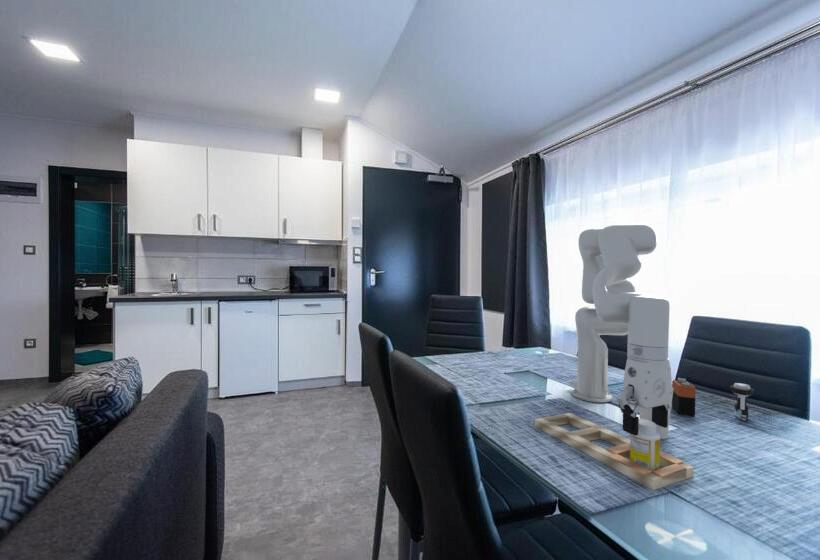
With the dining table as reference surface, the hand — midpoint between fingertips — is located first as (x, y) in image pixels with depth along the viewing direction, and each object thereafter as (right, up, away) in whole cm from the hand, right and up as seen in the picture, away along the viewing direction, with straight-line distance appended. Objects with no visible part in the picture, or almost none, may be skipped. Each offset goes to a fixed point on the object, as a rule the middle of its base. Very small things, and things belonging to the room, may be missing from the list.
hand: (645, 428), depth 81 cm
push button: (+48, -9, +29) cm, 57 cm away
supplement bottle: (0, -9, 0) cm, 9 cm away
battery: (+34, -9, +34) cm, 49 cm away
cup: (+14, -9, +18) cm, 24 cm away
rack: (-4, -8, +9) cm, 13 cm away
